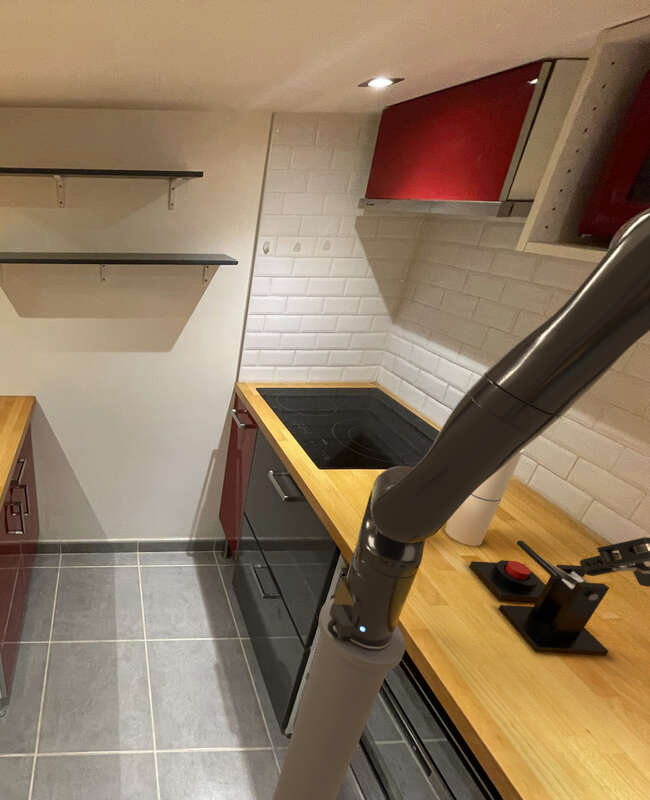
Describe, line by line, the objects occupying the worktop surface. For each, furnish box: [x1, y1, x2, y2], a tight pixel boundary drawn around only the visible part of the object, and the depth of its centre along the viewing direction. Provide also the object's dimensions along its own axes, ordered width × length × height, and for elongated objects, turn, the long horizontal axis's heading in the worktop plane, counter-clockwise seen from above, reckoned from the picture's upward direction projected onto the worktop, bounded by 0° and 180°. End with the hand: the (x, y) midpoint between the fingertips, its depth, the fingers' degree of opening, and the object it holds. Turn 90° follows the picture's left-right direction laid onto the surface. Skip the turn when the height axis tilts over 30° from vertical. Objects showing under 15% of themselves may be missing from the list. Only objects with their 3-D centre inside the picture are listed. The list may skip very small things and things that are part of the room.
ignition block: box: [468, 559, 547, 604], centre depth 92 cm, size 11×9×4 cm
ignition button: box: [505, 560, 532, 580], centre depth 91 cm, size 4×4×2 cm
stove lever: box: [516, 539, 590, 590], centre depth 77 cm, size 12×8×2 cm
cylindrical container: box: [444, 448, 525, 547], centre depth 101 cm, size 7×7×25 cm
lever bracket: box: [498, 564, 610, 657], centre depth 79 cm, size 12×9×14 cm
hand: (611, 573), depth 64 cm, fingers open, 8 cm apart
